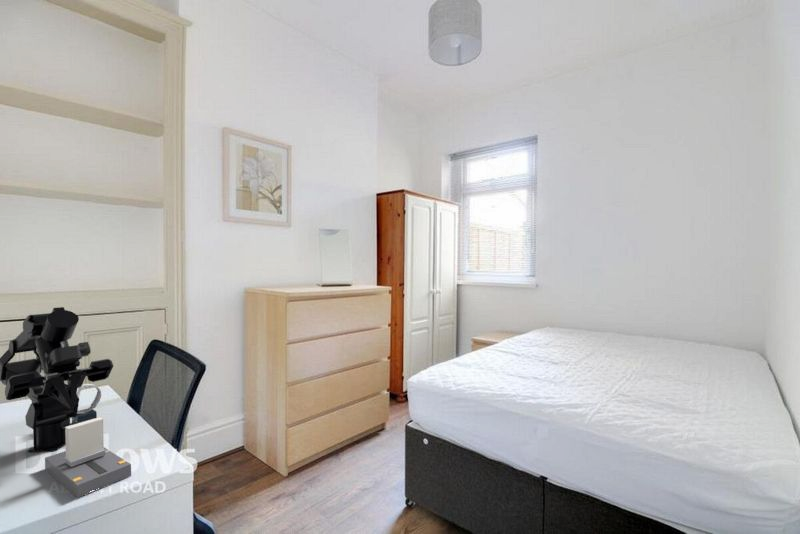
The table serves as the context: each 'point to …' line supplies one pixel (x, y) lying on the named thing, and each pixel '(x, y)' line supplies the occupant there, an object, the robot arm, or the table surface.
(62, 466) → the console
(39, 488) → the table surface
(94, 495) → the table surface
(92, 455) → the fader
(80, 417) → the watch
